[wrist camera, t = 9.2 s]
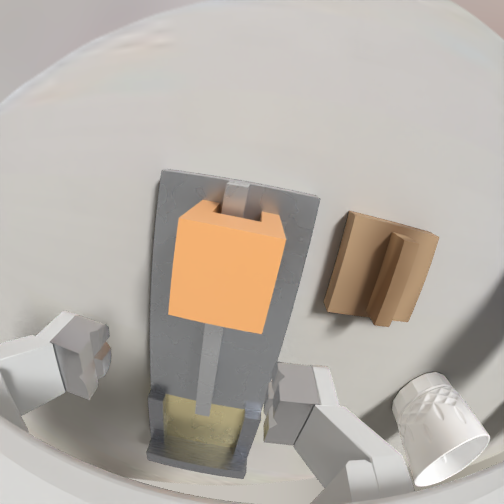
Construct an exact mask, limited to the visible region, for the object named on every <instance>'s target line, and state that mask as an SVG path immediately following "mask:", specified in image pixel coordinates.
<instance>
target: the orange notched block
mask: <svg viewBox="0 0 504 504" xmlns="http://www.w3.org/2000/svg"><path fill="white" fill-rule="evenodd" d="M219 207H220V203H218V202H213V201H207V200H202V201H200V202H199V203H198V204H196V205H195V206H194V207H192V208H191V209H190V210H188V211H187V212H186V213H185V214H183V215H182V216H181V217H179V220H178V227H177V235H176V243H175V251H174V260H173V269H172V278H171V289H170V300H169V312H168V315H172V316H176V317H181V318H185V319H189V320H194V321H198V322H203V323H207V324H212V325H217V326H221V327H226V328H231V329H236V330H241V331H247V332H252V333H258V334H262V332H263V328H264V324H265V321H266V317H267V313H268V309H269V306H270V302H271V298H272V294H273V290H274V286H275V282H276V279H277V275H278V271H279V267H280V263H281V259H282V255H283V251H284V247H285V243H286V237H285V233H284V230H283V226H282V223H281V219H280V216H279V215H277V214H272V213H267V212H263V211H262V213H261V217H260V221H255V220H250V219H245V218H240V217H235V216H230V215H225V214H220V213H218V212H219Z"/></svg>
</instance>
